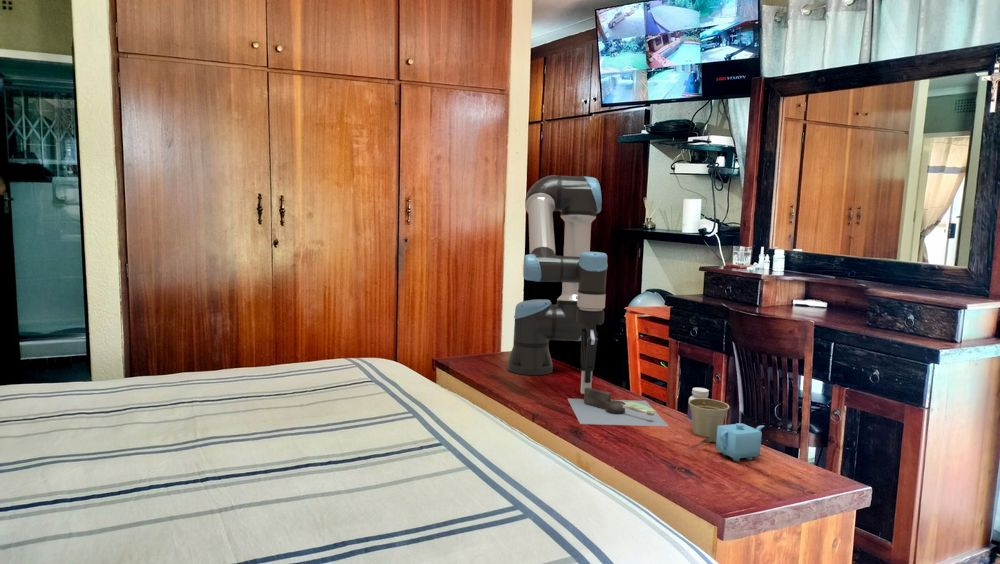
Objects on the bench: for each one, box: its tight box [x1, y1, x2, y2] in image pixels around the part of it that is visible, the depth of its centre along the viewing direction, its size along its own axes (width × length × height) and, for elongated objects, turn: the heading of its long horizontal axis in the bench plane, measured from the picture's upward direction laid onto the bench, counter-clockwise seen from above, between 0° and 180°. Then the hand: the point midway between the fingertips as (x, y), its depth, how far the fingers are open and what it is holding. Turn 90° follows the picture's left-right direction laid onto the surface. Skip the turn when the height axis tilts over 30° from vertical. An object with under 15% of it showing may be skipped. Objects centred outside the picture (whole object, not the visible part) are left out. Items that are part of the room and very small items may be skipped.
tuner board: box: [567, 398, 670, 427], centre depth 177 cm, size 22×22×2 cm
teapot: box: [715, 422, 765, 462], centre depth 152 cm, size 12×6×8 cm, turn 111°
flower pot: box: [687, 398, 730, 443], centre depth 163 cm, size 9×9×9 cm
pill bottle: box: [686, 387, 710, 424], centre depth 171 cm, size 5×5×10 cm
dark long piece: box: [583, 387, 654, 416], centre depth 176 cm, size 21×5×4 cm, turn 48°
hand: (585, 393), depth 187 cm, fingers closed
